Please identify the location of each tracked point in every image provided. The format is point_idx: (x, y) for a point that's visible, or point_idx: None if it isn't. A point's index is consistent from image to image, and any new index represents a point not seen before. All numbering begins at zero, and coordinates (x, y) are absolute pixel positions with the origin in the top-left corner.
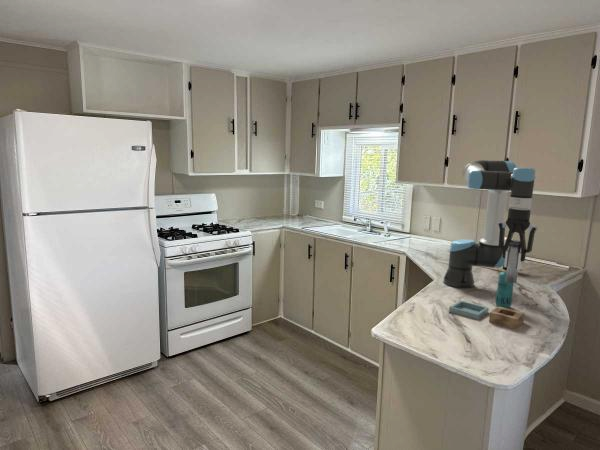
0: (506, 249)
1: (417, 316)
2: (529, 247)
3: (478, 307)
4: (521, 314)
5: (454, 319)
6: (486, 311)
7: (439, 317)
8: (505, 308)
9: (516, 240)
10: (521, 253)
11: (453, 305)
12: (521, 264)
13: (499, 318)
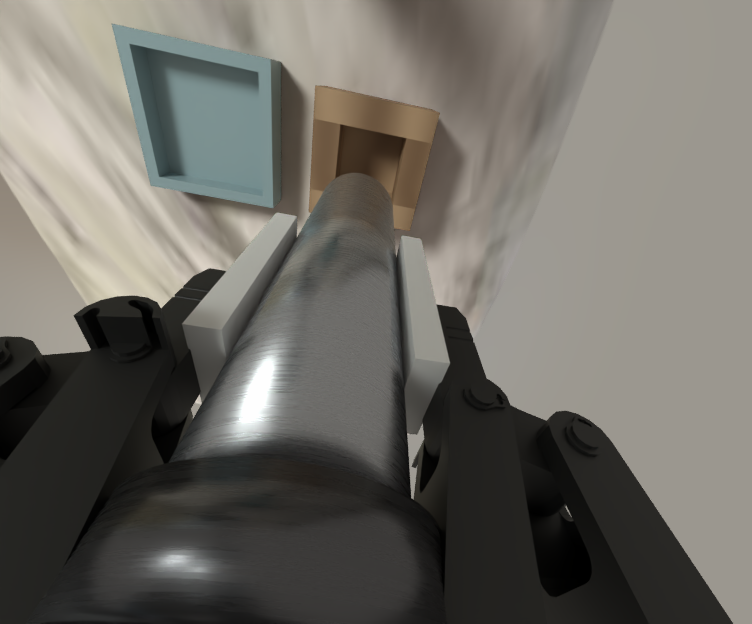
0: (190, 415)
1: (126, 269)
2: (561, 576)
3: (226, 64)
4: (425, 153)
5: (214, 224)
6: (274, 94)
7: (172, 236)
8: (352, 101)
9: (206, 616)
10: (423, 414)
11: (146, 150)
12: (425, 258)
13: None
